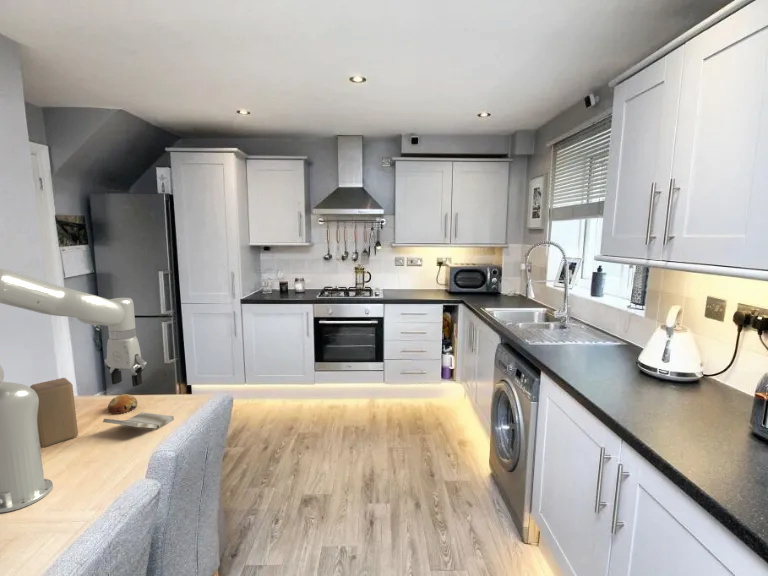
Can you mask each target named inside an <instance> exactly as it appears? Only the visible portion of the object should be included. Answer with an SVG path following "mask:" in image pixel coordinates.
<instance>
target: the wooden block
mask: <svg viewBox="0 0 768 576" xmlns="http://www.w3.org/2000/svg"><path fill="white" fill-rule="evenodd" d="M29 387H30V388H32V389H33V390H34V391H35V392H36V393H37V395H38V399H39V406H38V414H37V425H38V434H39V442H40V447H41V448H46V447H50V446H52V445H55V444H58V443H62V442H65V441H68V440H70V439H73V438H77V437H78V434H79V430H78V429H79V428H78V421H77V411H76V405H75V396H74V388H73V384H72V382H71V381H69V379H67V377H61V378H57V379H52V380H48V381H43V382H39V383H35V384H32V385H30V386H29Z"/></svg>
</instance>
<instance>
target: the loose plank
mask: <svg viewBox="0 0 768 576" xmlns="http://www.w3.org/2000/svg"><path fill="white" fill-rule="evenodd" d="M127 420H128V419H123V420H122V419H114V418H113V419H111V418H103V421H102V423H105V424H106V423H107V424H113V425H119V426H120V425H121V426H130V427H135V428H142V427H145V428H144V429H149V428H157V426H158V425H157V424H149V423H142V422H134V421H127Z"/></svg>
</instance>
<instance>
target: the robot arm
mask: <svg viewBox="0 0 768 576" xmlns="http://www.w3.org/2000/svg"><path fill="white" fill-rule="evenodd" d="M0 304H2V305H6V306H7V305H8V306H10V307H15V308H18V309H23V310H27V311H30V312H35V313H37V314H38V313H39V314H44V315H49V316H55V317H56V316H58V317H67V318H69V317H70V318H76V319H77V320H78V321H80V323H83V324H85V325H95V326H106V327H108V337H109V338H108V339H107V344H106V358H105V359H104V360H103V361H104V363H105V365H106V368H107V369H108V371H109V373H110V377H111V384H112V385H117V384H120V383H121V382H122V381H123V380H122V379H123V377H122V370H130V371H131V373H132V374H131V381H132V382H131V383H132V387H134V388H135V387H138V386H141V385H142V384H143V377H142V373H143V372H144V370H145V369H146V366H147V364H148V363H147V361H146V360H144V358H143V357H142V355H141V354H142V353H141V348H140V343H139V339H138V337H137V331H136V319H135V318H136V317H135V307H134V305H135V303H134V300H133V299H132V298H131V297H115V298H111V299H109V298H108V299H107V298H105V297H101V296H98V295H95V294H91V293H87V292H83V291H80V290H77V289H72V288H69V287H65V286H61V285H57V284H53V283H50V282H48V281H44V280H41V279H37V278H34V277H32V276H28V275H25V274H23V273H19V272H16V271H12V270H8V269H4V268H0ZM4 372H5V371H4V368H3V366H2V365H1V364H0V513H7V512H8V513H9V512H12V511H17V510H20V509H22V508H26V507H28V506H30V505H33V504H35V503H36V502H38V501H40V500H41V499H43V498H45V497H46V496H47V495H48V494H49V493H50V492H51V491H52V489H53V487H54V485H53V484H54V483H53V481H52V480H51V479H48V478H45V473H44V467H43V466H44V465H43V459H42V451H41V450H42V449H41V445H40V442H39V434H38V425H37V414H38V406H39V399H38V395H37V393H36V392H35V391H34V390H33V389H32V388H30V386H28V385H25V384H22V383H18V382H17V383H16V382H12V381H3V380H4V377H5V373H4Z"/></svg>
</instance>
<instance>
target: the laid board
mask: <svg viewBox="0 0 768 576" xmlns="http://www.w3.org/2000/svg"><path fill="white" fill-rule="evenodd" d="M126 420H127V421H134V422H142V423H149V424H157V425H158V426H157V428H148V430H149V429H151V430H160V429H161V428H163V427H164V426H166V425H168V424H170V423H171V422H173V421H174V420H175V419H174V416H173V415H167V414H157V413H152V412H143V411H142V412H140V413H138V414H136V415H133V416H132V417H129V418H128V419H126ZM141 428H142V429H146V428H145V427H141Z"/></svg>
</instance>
